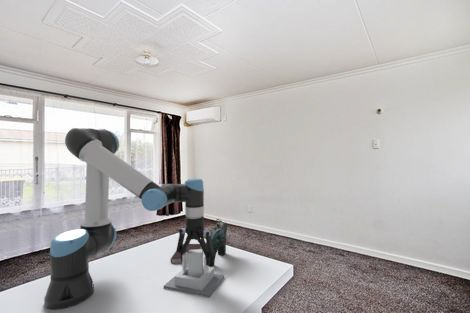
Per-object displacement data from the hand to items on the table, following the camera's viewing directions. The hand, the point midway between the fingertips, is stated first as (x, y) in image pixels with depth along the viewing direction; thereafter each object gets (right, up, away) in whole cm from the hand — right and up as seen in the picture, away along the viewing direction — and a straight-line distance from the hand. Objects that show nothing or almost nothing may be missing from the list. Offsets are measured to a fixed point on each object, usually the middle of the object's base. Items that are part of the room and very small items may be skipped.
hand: (195, 270), depth 96 cm
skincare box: (0, -4, 0) cm, 4 cm away
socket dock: (0, -5, 0) cm, 5 cm away
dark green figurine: (+7, -5, +22) cm, 24 cm away
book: (-9, -6, +28) cm, 30 cm away
